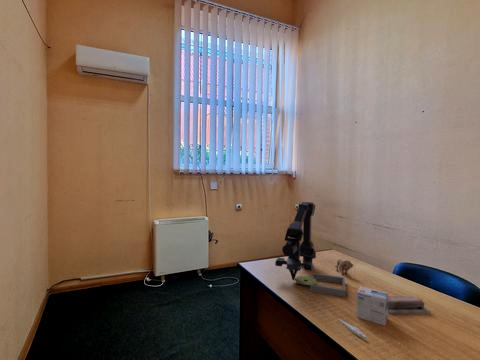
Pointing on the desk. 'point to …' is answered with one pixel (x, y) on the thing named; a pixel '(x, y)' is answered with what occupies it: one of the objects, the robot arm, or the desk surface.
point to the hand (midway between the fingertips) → (293, 279)
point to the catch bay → (327, 289)
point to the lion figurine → (344, 266)
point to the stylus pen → (353, 329)
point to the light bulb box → (372, 305)
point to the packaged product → (406, 305)
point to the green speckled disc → (305, 280)
